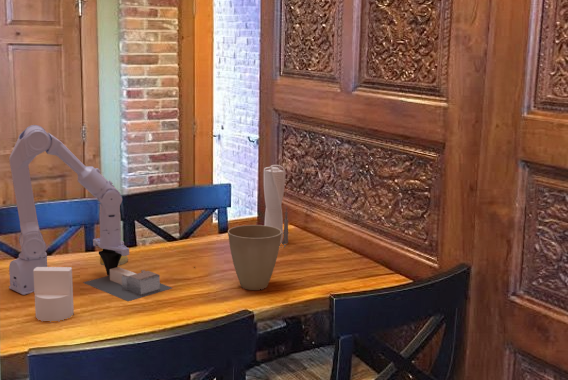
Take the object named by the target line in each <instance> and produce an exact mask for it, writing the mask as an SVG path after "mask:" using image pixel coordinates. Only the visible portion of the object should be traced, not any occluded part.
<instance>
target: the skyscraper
mask: <svg viewBox="0 0 568 380" xmlns="http://www.w3.org/2000/svg"><path fill="white" fill-rule="evenodd" d="M280 168H281V169H282V170H281V169H280ZM285 183H286V169H285V168H284V166H282V165H280V164H271V165H270V166H267V167H264V168H263V194H264V203H265V204H264V205H265V210H264V211H265V212H264V224H263V225H264V226H271V227H275V228H278V229H280V230H281V231H282V234H281V240H280V244H281V243H282V244H283V245H284V244H287V243H288V242H289V219H288V207H287V206H286V207H285V212H284V215H285V216H283V208H282V203H283V199H284V194H285ZM283 217H284V220H283ZM283 223H284V224H283ZM288 244H289V243H288ZM288 244H287V245H288ZM287 245H284V248H285V247H286V246H287Z"/></svg>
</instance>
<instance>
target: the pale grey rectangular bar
mask: <svg viewBox="0 0 568 380" xmlns="http://www.w3.org/2000/svg"><path fill="white" fill-rule="evenodd" d="M134 274H137V273H136V272H134V271H130V270H128V269H125V268H122V267H119V266H118V267H116V268H112V269H110V280H111V281H113V282H116V283H119V284H121V285H122V276H123V275H126V276H130V275H134Z"/></svg>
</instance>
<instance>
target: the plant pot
mask: <svg viewBox="0 0 568 380" xmlns="http://www.w3.org/2000/svg"><path fill="white" fill-rule="evenodd" d="M281 234H282V231H281V230H280V229H278V228H275V227H271V226H264V224H263V225H262V224H247V225H245V224H244V225H237V226H233V227H231V228H229V229H228V230H227V235H228V243H229V249H230V254H231V259H232V262H233V263H232V264H233V268H234V270H235V273H236V276H237V280H238V282H239V285H240V287H241V288H242V289H244V290H249V291H261V290H264V288H265V289H266V288H267V287H268V286H269V283H270V282H271V277H272V275H273V272H274V269H275V266H276V263H277V259H278V254H279V251H280V247H279V246H280V240H281ZM260 289H261V290H260Z"/></svg>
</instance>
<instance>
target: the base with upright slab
mask: <svg viewBox="0 0 568 380" xmlns="http://www.w3.org/2000/svg"><path fill="white" fill-rule="evenodd" d="M33 272H34V292H33V293H34V310H35V319H36V318H37V319H38V320H37V319H36V320H37V321H39V320H41V321H40V322H43V321H50V322H49V323H52V322H51V321H58V322H61V321H60V320H63V321H65V320H64V319H67V318H69V319H70V317H71V316H72V315H73V316H74V309H75V308H74V289H73V268H72V267H69V266H65V267H64V266H56V267H55V266H47V267H36V268H35V269H34V270H33ZM73 316H72V317H73ZM72 317H71V318H72ZM67 320H68V319H67Z"/></svg>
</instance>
